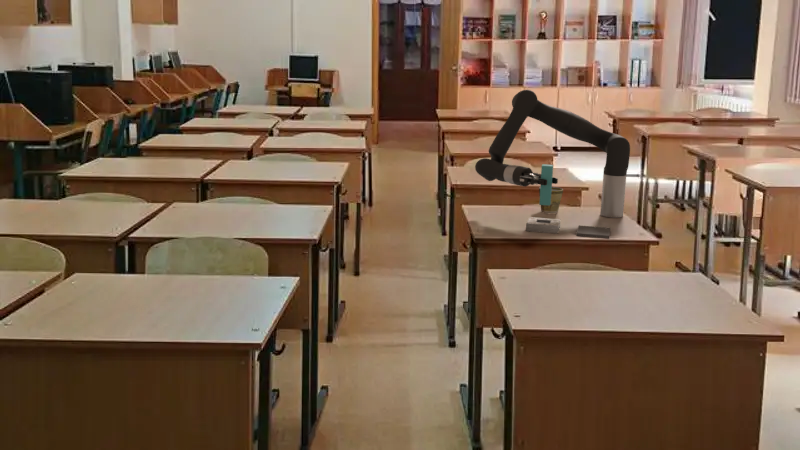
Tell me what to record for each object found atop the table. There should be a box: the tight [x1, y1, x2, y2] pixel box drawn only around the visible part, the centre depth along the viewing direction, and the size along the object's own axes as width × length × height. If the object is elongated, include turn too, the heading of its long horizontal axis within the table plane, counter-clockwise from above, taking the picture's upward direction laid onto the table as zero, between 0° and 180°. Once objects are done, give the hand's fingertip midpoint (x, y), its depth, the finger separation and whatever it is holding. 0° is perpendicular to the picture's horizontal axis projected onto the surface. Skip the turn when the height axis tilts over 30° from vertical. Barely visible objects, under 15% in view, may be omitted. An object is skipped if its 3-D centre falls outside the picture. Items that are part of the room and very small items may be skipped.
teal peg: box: [538, 163, 554, 206], centre depth 354 cm, size 4×4×15 cm
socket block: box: [525, 216, 562, 234], centre depth 358 cm, size 12×12×3 cm
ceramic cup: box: [538, 186, 564, 214], centre depth 390 cm, size 13×10×10 cm
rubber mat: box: [576, 225, 611, 239], centre depth 354 cm, size 14×12×1 cm
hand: (551, 181), depth 352 cm, fingers closed on teal peg, 5 cm apart
